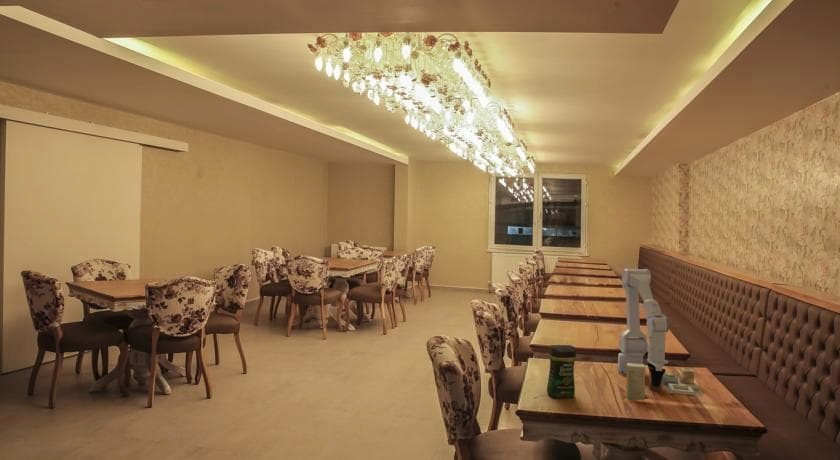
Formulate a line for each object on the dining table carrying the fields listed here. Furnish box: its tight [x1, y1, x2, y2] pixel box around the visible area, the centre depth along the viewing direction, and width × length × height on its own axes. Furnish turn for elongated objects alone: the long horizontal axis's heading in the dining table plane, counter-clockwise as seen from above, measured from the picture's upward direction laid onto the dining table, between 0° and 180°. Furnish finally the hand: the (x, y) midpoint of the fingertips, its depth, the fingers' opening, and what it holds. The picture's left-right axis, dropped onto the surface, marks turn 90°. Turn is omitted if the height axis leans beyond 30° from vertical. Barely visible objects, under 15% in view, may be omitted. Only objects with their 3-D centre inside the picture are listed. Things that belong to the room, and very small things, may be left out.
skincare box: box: [625, 363, 646, 401], centre depth 198 cm, size 6×4×12 cm
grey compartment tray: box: [663, 378, 704, 397], centre depth 207 cm, size 12×15×2 cm
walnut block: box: [648, 370, 663, 392], centre depth 205 cm, size 4×4×6 cm
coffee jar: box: [546, 344, 577, 399], centre depth 199 cm, size 10×8×19 cm
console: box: [662, 372, 679, 386], centre depth 212 cm, size 5×5×3 cm
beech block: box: [679, 367, 695, 385], centre depth 210 cm, size 4×4×6 cm
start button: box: [666, 373, 674, 377], centre depth 212 cm, size 3×3×3 cm
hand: (655, 384), depth 205 cm, fingers closed on walnut block, 4 cm apart
